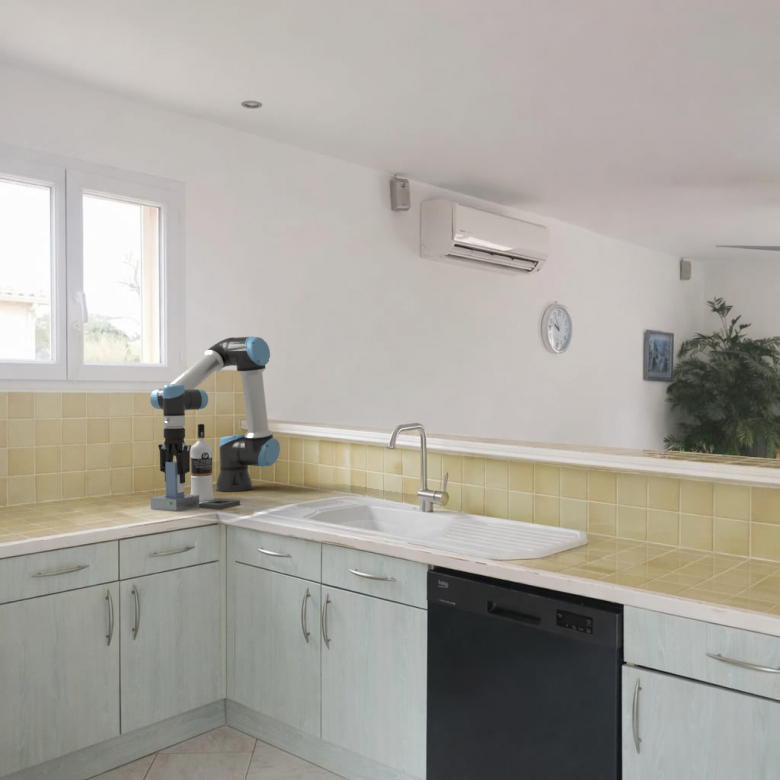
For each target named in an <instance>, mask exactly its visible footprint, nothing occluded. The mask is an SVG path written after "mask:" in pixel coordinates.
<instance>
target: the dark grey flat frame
mask: <svg viewBox="0 0 780 780" xmlns="http://www.w3.org/2000/svg"><path fill="white" fill-rule="evenodd" d="M240 505H241V500H238V499H226V498H218V499H213V500H209V501H203V502H201V503H200V502H199V506H198V509H206V510H207V509H210V510H217V511H218V510H219V511H220V510H223V509H228V508H232V507H236V506H240Z"/></svg>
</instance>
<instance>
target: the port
mask: <svg viewBox="0 0 780 780" xmlns="http://www.w3.org/2000/svg"><path fill="white" fill-rule="evenodd" d="M199 504H200V501H199V495H192V494H189V493H184V496H183V497H178V498H170V497H166V494H162V495H157V496H152V497H150V509H151V510H161V511H168V512H169V511H170V512H179V511H184V510H187V509H194V508H196V507H198V508H199Z"/></svg>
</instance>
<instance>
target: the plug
mask: <svg viewBox="0 0 780 780" xmlns="http://www.w3.org/2000/svg"><path fill="white" fill-rule="evenodd" d="M177 473H179V471H178V466H177V461H176V460H173V461H172V462H166V482H165V495H166V497H170V498H178V497H183V496H184V494H185V491H184V492H181V493H177V475H178V474H177Z"/></svg>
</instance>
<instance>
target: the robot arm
mask: <svg viewBox="0 0 780 780" xmlns="http://www.w3.org/2000/svg"><path fill="white" fill-rule="evenodd" d="M202 355H203V356H202V357H201V358H199V359H198V360H197V361H196V362H195V363H194V364H192V365H190V367H189V368H187V369H186V370H185V371H184V372H183V373H181V374H180V375H178V377H176V378H175V379H174V380H173V381H172V382H170V383H169V384H166V385H164V386H163V388H158V389H154V390H153V391H152V392H151V393H150V397H149V401H150V404H151V406H152V407H153V409H156V410H163V412H162V413H163V427H164V428H163V439H164V442H163V443H162V444H158V449H159V471H160V472H163V473H164V482H165V483H166V462H172V461H174V456H175V459H176V460H175V461H177V466H178V471H179V473H177V474H178V475H177V493H181V492H184V493H185V483H186V474H188V473H191V457H190V456H191V453H190V449H191V446H192V445H191V444H186V443H185V438H186V428H185V426H186V417H185V415H186V411H193V410H194V411H195V410H197V411H199V410H203V409H205V408H206V407H207V405H208V404H209V396H208V393H207V392H206V391H205V390H203V389H200V388H197V387H198V386H199V385H201V384H202V383H203V382H204V381H205V380H207V379H208V378H209V377H211V375H212V374H214V373H215V372H219V371H221V370H223V368H226V367H230V366H234V367H236V371H237V372H238V373H239V374H240V376H241V384H242V392H243V401H244V411H245V412H244V413H245V420H246V427H247V432H245V433H244V434H236V435H228V436H223V437H220V440H219V441H220V442H219V475H218V478H217V481H216V484H215V490H216V491H219V492H245V491H250V490H252V489H253V482H252V479H251V476H250V472H249V466H252V467H253V466H254V467H261V468H263V467H271V466H273V465H274V464H275V463H276V462H277V460H278V458H279V456H280V454H281V453H280V452H281V445H280V442H279V441H278V439H276V438H274V435H273V434H274V433H273V432H272V431H271V430H270V429H269V423H268V413H267V404H266V394H265V387H264V386H265V385H264V378H263V373H264V372H265V370H266V365H268V363H269V362H270V358H271V350H270V347H269V345H268V343H267V342H266V341H265V340H264V338H262V337H259V336H239V337H237V336H236V337H226V338H225V339H222V340H220V341H218V342H217V343H215V344H213V345H212V346H210V347H209V348H208V349H207V350H206V351H204V353H203V354H202Z"/></svg>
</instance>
